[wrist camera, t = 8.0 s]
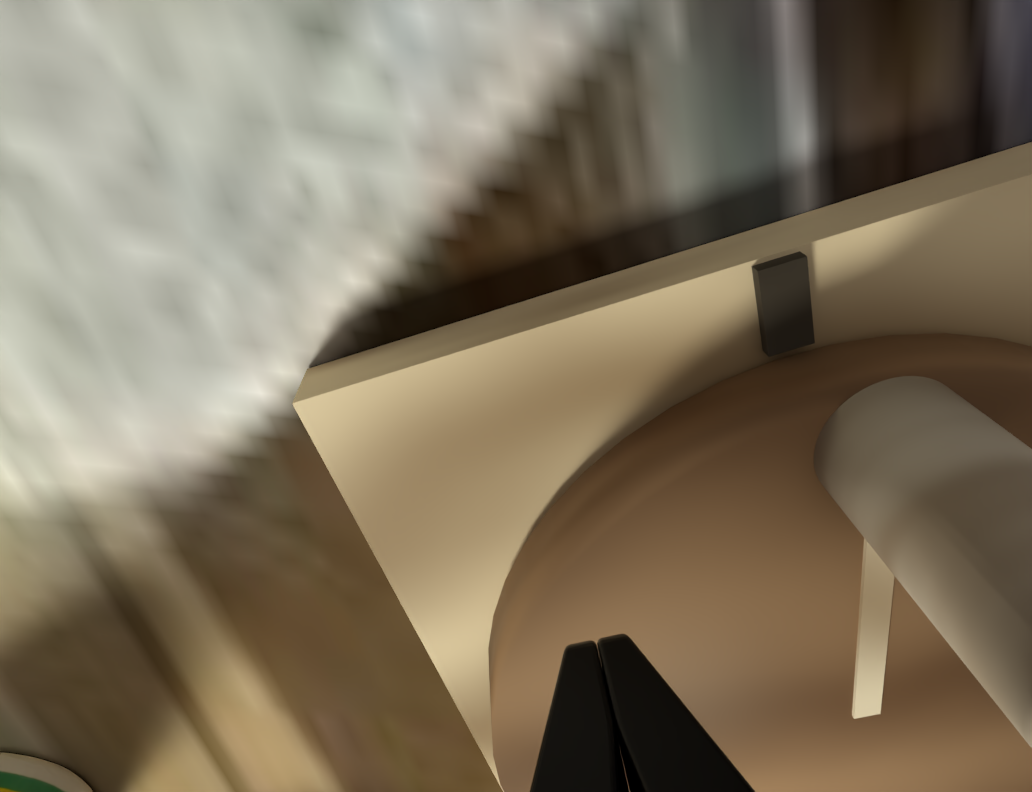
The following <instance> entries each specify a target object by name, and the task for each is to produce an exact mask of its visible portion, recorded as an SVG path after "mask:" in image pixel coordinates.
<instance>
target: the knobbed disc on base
mask: <svg viewBox="0 0 1032 792" xmlns="http://www.w3.org/2000/svg"><path fill="white" fill-rule="evenodd" d="M617 634H626V635H628V636H629V637H630V638H631V639H632V640H633V642H634V643H635V644H636V645H637V647H638V648H639V649H640V650H641V652H642V653H643V654H644V655H645V656H646V658H647V659H648V660H649V661H650V663H651V664H652V665H653V666H654V667H655V669H656V670H657V671H658V672H659V674H660V675H661V676H662V677H663V679H664V680H665V681H666V682H667V683H668V685H669V686H670V687H671V688H672V690H673V691H674V692H675V693H676V695H677V696H678V697H679V698H680V699H681V701H682V702H683V703H684V704H685V706H686V707H687V708H688V709H689V710H690V712H691V713H692V714H693V715H694V717H695V718H696V719H697V720H698V722H699V723H700V724H701V725H702V726H703V728H704V729H705V730H706V731H707V733H708V734H709V735H710V736H711V737H712V739H713V740H714V741H715V742H716V744H717V745H718V746H719V747H720V749H721V750H722V751H723V752H724V753H725V755H726V756H727V757H728V758H729V760H730V761H731V762H732V763H733V765H734V766H735V767H736V768H737V769H738V771H739V772H740V773H741V774H742V776H743V777H744V778H745V779H746V780H747V782H748V783H749V784H750V785H751V787H752V788H753V789H754V790H755V792H1032V347H1031V346H1027V345H1023V344H1019V343H1015V342H1011V341H1006V340H1002V339H998V338H990V337H979V336H969V335H959V334H948V333H939V334H910V335H888V336H882V337H875V338H869V339H863V340H856V341H850V342H843V343H837V344H832V345H828V346H824V347H821V348H817V349H813V350H810V351H806V352H802V353H799V354H795V355H791V356H788V357H784V358H780V359H777V360H774V361H771V362H769V363H766V364H764V365H761V366H759V367H756V368H753V369H751V370H748V371H746V372H743V373H741V374H738V375H736V376H733V377H730V378H728V379H725V380H723V381H721V382H719V383H717V384H715V385H713V386H711V387H709V388H707V389H705V390H703V391H701V392H699V393H697V394H695V395H694V396H692V397H690V398H688V399H686V400H684V401H682V402H680V403H678V404H676V405H674V406H672V407H670V408H669V409H667V410H666V411H664V412H663V413H661V414H660V415H658V416H657V417H655V418H654V419H652V420H651V421H649V422H648V423H646V424H645V425H643V426H642V427H640V428H639V429H637V430H636V431H634V432H633V433H631V434H630V435H628V436H627V437H625V438H624V439H622V440H621V441H620V442H619V443H618V444H617V445H615V446H614V447H613V448H612V449H611V450H609V451H608V452H607V453H606V454H605V455H603V456H602V457H601V458H600V459H599V460H597V461H596V462H595V463H594V464H593V465H592V466H590V467H589V468H588V469H587V470H586V471H584V472H583V473H582V474H581V475H580V476H579V478H578V479H577V480H576V481H575V482H574V483H573V484H572V485H571V486H570V487H569V488H568V489H567V490H566V491H565V492H564V494H563V495H562V496H561V497H560V498H559V499H558V500H557V501H556V502H555V503H554V504H553V505H552V506H551V507H550V509H549V510H548V511H547V513H546V514H545V516H544V517H543V518H542V520H541V521H540V523H539V524H538V525H537V527H536V528H535V530H534V531H533V532H532V534H531V535H530V536H529V538H528V539H527V541H526V542H525V543H524V545H523V547H522V549H521V551H520V553H519V555H518V557H517V558H516V560H515V562H514V564H513V566H512V568H511V570H510V572H509V574H508V576H507V578H506V580H505V582H504V585H503V588H502V591H501V594H500V597H499V600H498V603H497V606H496V609H495V612H494V615H493V621H492V628H491V634H490V641H489V647H488V654H489V682H490V703H491V723H492V744H493V757H494V761H495V765H496V769H497V773H498V777H499V781H500V785H501V787H502V789H503V791H504V792H530V788H531V784H532V780H533V776H534V772H535V768H536V764H537V759H538V755H539V751H540V747H541V743H542V739H543V735H544V731H545V726H546V722H547V718H548V714H549V710H550V706H551V702H552V697H553V693H554V689H555V685H556V681H557V677H558V673H559V669H560V664H561V660H562V656H563V652H564V650H565V648H566V646H568V645H570V644H574V643H579V642H584V641H589V640H592V641H594V642H595V643H596V645H597V642H598V640H599V639H600V638H603V637H608V636H613V635H617ZM597 648H598V647H597ZM598 653H599V652H598ZM599 657H600V656H599ZM601 666H602V665H601ZM620 751H621V750H620ZM622 760H623V759H622ZM623 765H624V764H623ZM624 769H625V768H624ZM625 774H626V773H625ZM626 778H627V777H626ZM627 783H628V782H627ZM628 788H629V786H628ZM629 792H630V790H629Z"/></svg>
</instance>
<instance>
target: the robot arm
mask: <svg viewBox="0 0 1032 792" xmlns="http://www.w3.org/2000/svg"><path fill="white" fill-rule="evenodd" d="M597 647H598V648H597ZM598 652H599V653H598ZM599 656H600V657H599ZM601 665H602V666H601ZM620 750H621V751H620ZM622 759H623V760H622ZM623 764H624V765H623ZM624 768H625V769H624ZM625 773H626V774H625ZM626 777H627V778H626ZM627 782H628V783H627ZM628 786H629V788H628ZM629 790H630V792H755V790H754V789H753V788H752V787H751V785H750V784H749V783H748V782H747V780H746V779H745V778H744V777H743V776H742V774H741V773H740V772H739V771H738V769H737V768H736V767H735V766H734V765H733V763H732V762H731V761H730V760H729V758H728V757H727V756H726V755H725V753H724V752H723V751H722V750H721V749H720V747H719V746H718V745H717V744H716V742H715V741H714V740H713V739H712V737H711V736H710V735H709V734H708V733H707V731H706V730H705V729H704V728H703V726H702V725H701V724H700V723H699V722H698V720H697V719H696V718H695V717H694V715H693V714H692V713H691V712H690V710H689V709H688V708H687V707H686V706H685V704H684V703H683V702H682V701H681V699H680V698H679V697H678V696H677V695H676V693H675V692H674V691H673V690H672V688H671V687H670V686H669V685H668V683H667V682H666V681H665V680H664V679H663V677H662V676H661V675H660V674H659V672H658V671H657V670H656V669H655V667H654V666H653V665H652V664H651V663H650V661H649V660H648V659H647V658H646V656H645V655H644V654H643V653H642V652H641V650H640V649H639V648H638V647H637V645H636V644H635V643H634V642H633V640H632V639H631V638H630V637H629V636H628V635H626V634H617V635H613V636H608V637H603V638H600V639H599V640H598V642H597V645H596V643H595V642H594V641H592V640H589V641H584V642H579V643H574V644H570V645H568V646H566V648H565V650H564V652H563V656H562V660H561V664H560V669H559V673H558V677H557V681H556V685H555V689H554V693H553V697H552V702H551V706H550V710H549V714H548V718H547V722H546V726H545V731H544V735H543V739H542V743H541V747H540V751H539V755H538V759H537V764H536V768H535V772H534V776H533V780H532V784H531V788H530V792H629Z"/></svg>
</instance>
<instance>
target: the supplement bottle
mask: <svg viewBox="0 0 1032 792" xmlns="http://www.w3.org/2000/svg"><path fill="white" fill-rule="evenodd" d="M0 792H93V791H92V789H91V788H90V787H89V786H88V785H87V784H86V783H85V782H84V781H83V780H82V779H81V778H80V777H78V776H77V775H75V774H74V773H73V772H71V771H70V770H68V769H66V768H64V767H62V766H60V765H58V764H55V763H52V762H49V761H46V760H42V759H39V758H35V757H30V756H25V755H19V754H13V753H2V752H0Z"/></svg>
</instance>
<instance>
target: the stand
mask: <svg viewBox="0 0 1032 792" xmlns="http://www.w3.org/2000/svg"><path fill="white" fill-rule="evenodd" d="M939 333H948V334H959V335H969V336H979V337H990V338H998V339H1002V340H1006V341H1011V342H1015V343H1019V344H1023V345H1027V346H1031V347H1032V142H1029V143H1026V144H1023V145H1020V146H1017V147H1013V148H1010V149H1007V150H1004V151H1001V152H997V153H994V154H991V155H988V156H985V157H981V158H978V159H975V160H972V161H969V162H966V163H962V164H959V165H956V166H953V167H950V168H946V169H943V170H940V171H937V172H934V173H930V174H927V175H924V176H921V177H918V178H915V179H911V180H908V181H905V182H902V183H899V184H895V185H892V186H889V187H886V188H883V189H879V190H876V191H873V192H870V193H867V194H863V195H860V196H857V197H854V198H851V199H848V200H844V201H841V202H838V203H835V204H832V205H828V206H825V207H822V208H819V209H816V210H812V211H809V212H806V213H803V214H800V215H797V216H793V217H790V218H787V219H784V220H781V221H777V222H774V223H771V224H768V225H765V226H761V227H758V228H755V229H752V230H749V231H746V232H742V233H739V234H736V235H733V236H730V237H726V238H723V239H720V240H717V241H714V242H710V243H707V244H704V245H701V246H698V247H695V248H691V249H688V250H685V251H682V252H679V253H675V254H672V255H669V256H666V257H663V258H659V259H656V260H653V261H650V262H647V263H643V264H640V265H637V266H634V267H631V268H628V269H624V270H621V271H618V272H615V273H612V274H608V275H605V276H602V277H599V278H596V279H592V280H589V281H586V282H583V283H580V284H577V285H573V286H570V287H567V288H564V289H561V290H557V291H554V292H551V293H548V294H545V295H541V296H538V297H535V298H532V299H529V300H526V301H522V302H519V303H516V304H513V305H510V306H506V307H503V308H500V309H497V310H494V311H490V312H487V313H484V314H481V315H478V316H474V317H471V318H468V319H465V320H462V321H459V322H455V323H452V324H449V325H446V326H443V327H439V328H436V329H433V330H430V331H427V332H423V333H420V334H417V335H414V336H411V337H408V338H404V339H401V340H398V341H395V342H392V343H388V344H385V345H382V346H379V347H376V348H372V349H369V350H366V351H363V352H360V353H357V354H353V355H350V356H347V357H344V358H341V359H337V360H334V361H331V362H328V363H325V364H321V365H318V366H315V367H312V368H309V369H307V371H306V373H305V375H304V377H303V380H302V382H301V384H300V387H299V389H298V391H297V393H296V396H295V398H294V400H293V403H292V404H293V406H294V408H295V410H296V411H297V413H298V415H299V417H300V419H301V421H302V422H303V424H304V426H305V428H306V430H307V432H308V434H309V435H310V437H311V439H312V441H313V443H314V445H315V446H316V448H317V450H318V452H319V454H320V456H321V457H322V459H323V461H324V463H325V465H326V467H327V468H328V470H329V472H330V474H331V476H332V478H333V479H334V481H335V483H336V485H337V487H338V489H339V490H340V492H341V494H342V496H343V498H344V500H345V502H346V503H347V505H348V507H349V509H350V511H351V513H352V514H353V516H354V518H355V520H356V522H357V524H358V525H359V527H360V529H361V531H362V533H363V535H364V536H365V538H366V540H367V542H368V544H369V546H370V547H371V549H372V551H373V553H374V555H375V557H376V558H377V560H378V562H379V564H380V566H381V568H382V570H383V571H384V573H385V575H386V577H387V579H388V581H389V582H390V584H391V586H392V588H393V590H394V592H395V593H396V595H397V597H398V599H399V601H400V603H401V604H402V606H403V608H404V610H405V612H406V614H407V615H408V617H409V619H410V621H411V623H412V625H413V627H414V628H415V630H416V632H417V634H418V636H419V638H420V639H421V641H422V643H423V645H424V647H425V649H426V650H427V652H428V654H429V656H430V658H431V660H432V661H433V663H434V665H435V667H436V669H437V671H438V672H439V674H440V676H441V678H442V680H443V682H444V683H445V685H446V687H447V689H448V691H449V693H450V695H451V696H452V698H453V700H454V702H455V704H456V706H457V707H458V709H459V711H460V713H461V715H462V717H463V718H464V720H465V722H466V724H467V726H468V728H469V729H470V731H471V733H472V735H473V737H474V739H475V740H476V742H477V744H478V746H479V748H480V750H481V751H482V753H483V755H484V757H485V759H486V761H487V763H488V764H489V766H490V768H491V770H492V772H493V774H494V775H495V777H496V779H497V781H498V783H499V785H500V781H499V777H498V773H497V769H496V765H495V761H494V757H493V744H492V723H491V703H490V682H489V654H488V647H489V641H490V634H491V628H492V621H493V615H494V612H495V609H496V606H497V603H498V600H499V597H500V594H501V591H502V588H503V585H504V582H505V580H506V578H507V576H508V574H509V572H510V570H511V568H512V566H513V564H514V562H515V560H516V558H517V557H518V555H519V553H520V551H521V549H522V547H523V545H524V543H525V542H526V541H527V539H528V538H529V536H530V535H531V534H532V532H533V531H534V530H535V528H536V527H537V525H538V524H539V523H540V521H541V520H542V518H543V517H544V516H545V514H546V513H547V511H548V510H549V509H550V507H551V506H552V505H553V504H554V503H555V502H556V501H557V500H558V499H559V498H560V497H561V496H562V495H563V494H564V492H565V491H566V490H567V489H568V488H569V487H570V486H571V485H572V484H573V483H574V482H575V481H576V480H577V479H578V478H579V476H580V475H581V474H582V473H583V472H584V471H586V470H587V469H588V468H589V467H590V466H592V465H593V464H594V463H595V462H596V461H597V460H599V459H600V458H601V457H602V456H603V455H605V454H606V453H607V452H608V451H609V450H611V449H612V448H613V447H614V446H615V445H617V444H618V443H619V442H620V441H621V440H622V439H624V438H625V437H627V436H628V435H630V434H631V433H633V432H634V431H636V430H637V429H639V428H640V427H642V426H643V425H645V424H646V423H648V422H649V421H651V420H652V419H654V418H655V417H657V416H658V415H660V414H661V413H663V412H664V411H666V410H667V409H669V408H670V407H672V406H674V405H676V404H678V403H680V402H682V401H684V400H686V399H688V398H690V397H692V396H694V395H695V394H697V393H699V392H701V391H703V390H705V389H707V388H709V387H711V386H713V385H715V384H717V383H719V382H721V381H723V380H725V379H728V378H730V377H733V376H736V375H738V374H741V373H743V372H746V371H748V370H751V369H753V368H756V367H759V366H761V365H764V364H766V363H769V362H771V361H774V360H777V359H780V358H784V357H788V356H791V355H795V354H799V353H802V352H806V351H810V350H813V349H817V348H821V347H824V346H828V345H832V344H837V343H843V342H850V341H856V340H863V339H869V338H875V337H882V336H888V335H910V334H939ZM500 786H501V785H500ZM501 788H502V787H501ZM502 790H503V789H502ZM503 792H504V791H503Z"/></svg>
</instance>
